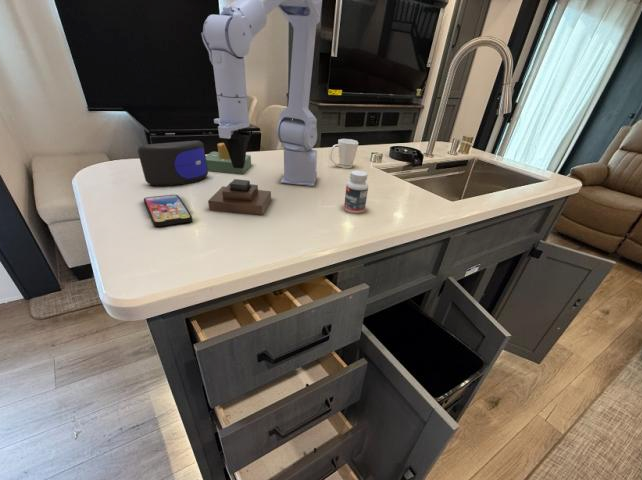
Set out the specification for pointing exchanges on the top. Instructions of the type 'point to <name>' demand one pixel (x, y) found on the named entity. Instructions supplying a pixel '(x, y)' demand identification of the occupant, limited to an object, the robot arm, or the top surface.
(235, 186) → the switch button
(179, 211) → the smartphone
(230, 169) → the green flat block
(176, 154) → the leaning round-cornered charcoal block
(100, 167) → the top surface
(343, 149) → the cup
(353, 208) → the pill bottle
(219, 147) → the dimmer knob
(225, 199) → the switch plate
